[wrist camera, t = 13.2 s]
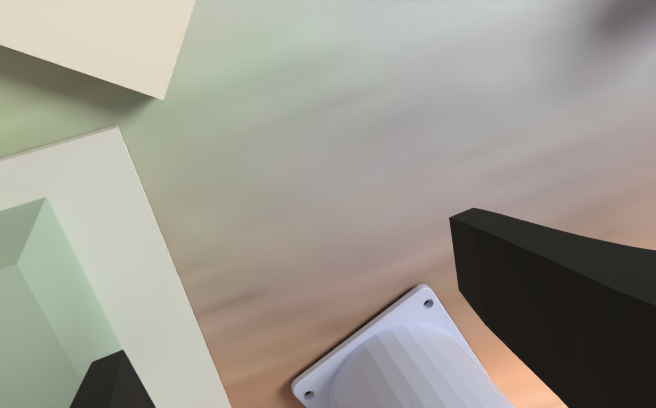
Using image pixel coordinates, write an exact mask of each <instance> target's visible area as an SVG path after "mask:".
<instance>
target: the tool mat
mask: <svg viewBox="0 0 656 408" xmlns="http://www.w3.org/2000/svg"><path fill="white" fill-rule="evenodd" d="M44 197H47V199H48V201H49V203H50V205H51V207H52V209H53V211H54V213H55V215H56V217H57V219H58V221H59V223H60V225H61V227H62V229H63V231H64V233H65V235H66V237H67V239H68V241H69V243H70V245H71V247H72V249H73V251H74V253H75V255H76V257H77V259H78V261H79V263H80V265H81V267H82V269H83V271H84V273H85V275H86V277H87V279H88V281H89V284H90V286H91V288H92V290H93V292H94V294H95V296H96V298H97V300H98V302H99V304H100V306H101V308H102V310H103V312H104V314H105V316H106V318H107V320H108V322H109V324H110V326H111V328H112V330H113V332H114V334H115V336H116V338H117V340H118V342H119V344H120V346H121V348H122V350H123V349H124V351H125V353H126V355H127V357H128V358H129V360H130V362H131V364H132V366H133V367H134V369H135V371H136V373H137V375H138V376H139V378H140V380H141V382H142V384H143V385H144V387H145V389H146V391H147V392H148V394H149V396H150V398H151V400H152V401H153V403H154V405H155V407H156V408H232V407H231V405H230V402H229V400H228V397H227V395H226V392H225V390H224V387H223V385H222V383H221V380H220V378H219V375H218V373H217V370H216V368H215V365H214V363H213V360H212V358H211V355H210V353H209V350H208V348H207V345H206V343H205V340H204V338H203V335H202V333H201V330H200V328H199V325H198V323H197V321H196V318H195V316H194V313H193V311H192V308H191V306H190V303H189V301H188V298H187V296H186V293H185V291H184V288H183V286H182V283H181V281H180V278H179V276H178V273H177V271H176V268H175V266H174V263H173V261H172V259H171V256H170V254H169V251H168V249H167V246H166V244H165V241H164V239H163V236H162V234H161V231H160V229H159V226H158V224H157V221H156V219H155V216H154V214H153V211H152V209H151V206H150V204H149V201H148V199H147V197H146V194H145V192H144V189H143V187H142V184H141V182H140V179H139V177H138V174H137V172H136V169H135V167H134V164H133V162H132V159H131V157H130V154H129V152H128V149H127V147H126V144H125V142H124V139H123V137H122V135H121V132H120V130H119V127H118V125H113V126H110V127H106V128H103V129H100V130H96V131H93V132H89V133H86V134H82V135H79V136H75V137H72V138H68V139H65V140H61V141H58V142H54V143H51V144H48V145H44V146H41V147H37V148H34V149H30V150H27V151H23V152H20V153H16V154H13V155H9V156H6V157H2V158H0V211H1V210H5V209H8V208H11V207H14V206H18V205H21V204H24V203H27V202H31V201H34V200H37V199H40V198H44Z"/></svg>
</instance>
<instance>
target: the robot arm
mask: <svg viewBox="0 0 656 408" xmlns="http://www.w3.org/2000/svg"><path fill="white" fill-rule="evenodd" d="M449 220H450V227H451V235H452V242H453V250H454V257H455V265H456V272H457V280H458V287H459V291H460V292H461V294H462V295H463V296H464V298H465V299H466V300H467V302H468V303H469V304H470V306H471V307H472V308H473V310H474V311H475V312H476V313H477V315H478V316H479V317H480V318H481V320H482V321H483V322H484V323H485V325H486V326H487V327H488V328H489V329H490V330H491V331H492V332H493V333H494V334H495V335H496V336H497V337H498V338H499V339H500V340H501V341H502V342H503V343H504V344H505V345H506V346H507V347H508V348H509V349H510V350H511V351H512V352H513V353H514V354H515V355H516V356H517V357H518V358H519V359H520V360H521V361H522V362H523V363H524V364H525V365H527V366H528V367H529V368H530V369H531V370H532V371H533V372H534V373H535V374H536V375H537V376H538V377H539V378H540V379H541V380H542V381H543V382H544V383H545V384H546V385H547V386H548V387H549V388H550V389H551V390H552V391H553V392H554V393H555V394H556V395H557V396H558V397H559V398H560V399H561V400H562V401H563V402H564V403H565V404H566V405H567V407H568V408H656V250H649V249H642V248H637V247H631V246H626V245H621V244H616V243H611V242H607V241H602V240H597V239H593V238H588V237H584V236H580V235H576V234H572V233H568V232H564V231H560V230H556V229H552V228H549V227H545V226H541V225H538V224H534V223H530V222H527V221H523V220H520V219H516V218H513V217H509V216H505V215H502V214H498V213H494V212H490V211H486V210H482V209H477V208H472V209H469V210H467V211H464V212H462V213H459V214H457V215H454V216H452V217H449ZM428 299H429V302H428V303H427V304H425V305H424V302H425V301H426V300H428ZM291 389H292V392H293V394H294V396H295V397H296V398H297V399H298V400H299V401H300V402H301V403H302V404H303V405H304V406H305V407H306V408H515V406H514V405H513V404H512V403H511V402H510V401H509V400H508V399H507V397H506V396H505V395H504V394H503V393H502V392H501V391H500V390H499V388H498V387H497V386H496V385H495V384H494V383H493V382H492V380H491V379H490V377H489V376H488V374H487V373H486V371H485V370H484V368H483V367H482V365H481V364H480V362H479V361H478V359H477V358H476V356H475V355H474V353H473V352H472V350H471V349H470V347H469V345H468V344H467V342H466V341H465V339H464V338H463V336H462V335H461V333H460V332H459V330H458V329H457V327H456V326H455V324H454V323H453V321H452V320H451V318H450V317H449V315H448V314H447V312H446V311H445V309H444V308H443V306H442V305H441V303H440V302H439V300H438V299H437V297H436V296H435V294H434V293H433V291H432V290H431V289H430V288H429V287H428V286H427V285H424V284H422V285H418V286H417V287H415V288H414V289H412V290H411V291H410V292H408V293H407V294H406V295H405V296H403V297H402V298H401V299H399V300H398V301H397V302H395V303H394V304H393V305H391V306H390V307H389V308H388V309H386V310H385V311H384V312H382V313H381V314H380V315H378V316H377V317H376V318H374V319H373V320H372V321H370V322H369V323H368V324H367V325H365V326H364V327H363V328H361V329H360V330H359V331H357V332H356V333H355V334H353V335H352V336H351V337H349V338H348V339H347V340H346V341H344V342H343V343H342V344H340V345H339V346H338V347H336V348H335V349H334V350H332V351H331V352H330V353H328V354H327V355H326V356H325V357H323V358H322V359H321V360H319V361H318V362H317V363H315V364H314V365H313V366H311V367H310V368H309V369H307V370H306V371H305V372H304V373H302V374H301V375H300V376H298V377H297V378H296V379H295V380H294V381H293V382H292V384H291ZM308 391H311V392H310V393H309V394H305V393H306V392H308ZM69 408H156V407H155V405H154V403H153V401H152V400H151V398H150V396H149V394H148V392H147V391H146V389H145V387H144V385H143V384H142V382H141V380H140V378H139V376H138V375H137V373H136V371H135V369H134V367H133V366H132V364H131V362H130V360H129V358H128V357H127V355H126V353H125V351H124V349H123V350H120V351H118V352H115V353H113V354H110V355H108V356H106V357H103V358H101V359H98V360H96V361H93V362H92V363H91V365H90V367H89V369H88V371H87V373H86V375H85V376H84V378H83V380H82V383H81V385H80V387H79V389H78V391H77V393H76V395H75V397H74V399H73V401H72V403H71V405H70V407H69Z"/></svg>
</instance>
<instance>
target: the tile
mask: <svg viewBox="0 0 656 408" xmlns="http://www.w3.org/2000/svg"><path fill="white" fill-rule="evenodd" d="M195 1H196V0H0V45H2V46H5V47H8V48H11V49H14V50H17V51H20V52H23V53H26V54H29V55H32V56H35V57H38V58H40V59H43V60H46V61H49V62H52V63H55V64H58V65H61V66H64V67H67V68H70V69H73V70H76V71H79V72H82V73H85V74H88V75H91V76H94V77H97V78H100V79H102V80H105V81H108V82H111V83H114V84H117V85H120V86H123V87H126V88H129V89H132V90H135V91H138V92H141V93H144V94H147V95H150V96H153V97H156V98H159V99H161V100H164V97H165V94H166V91H167V88H168V85H169V82H170V79H171V76H172V72H173V69H174V66H175V63H176V60H177V57H178V54H179V51H180V48H181V45H182V42H183V39H184V35H185V32H186V29H187V26H188V23H189V20H190V17H191V14H192V11H193V8H194V5H195Z"/></svg>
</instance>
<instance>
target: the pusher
mask: <svg viewBox="0 0 656 408" xmlns="http://www.w3.org/2000/svg"><path fill="white" fill-rule="evenodd" d="M120 350H122V348H121V346H120V344H119V342H118V340H117V338H116V336H115V334H114V332H113V330H112V328H111V326H110V324H109V322H108V320H107V318H106V316H105V314H104V312H103V310H102V308H101V306H100V304H99V302H98V300H97V298H96V296H95V294H94V292H93V290H92V288H91V286H90V284H89V281H88V279H87V277H86V275H85V273H84V271H83V269H82V267H81V265H80V263H79V261H78V259H77V257H76V255H75V253H74V251H73V249H72V247H71V245H70V243H69V241H68V239H67V237H66V235H65V233H64V231H63V229H62V227H61V225H60V223H59V221H58V219H57V217H56V215H55V213H54V211H53V209H52V207H51V205H50V203H49V201H48V199H47V197H44V198H40V199H37V200H34V201H31V202H27V203H24V204H21V205H18V206H14V207H11V208H8V209H5V210H1V211H0V408H69V407H70V405H71V403H72V401H73V399H74V397H75V395H76V393H77V391H78V389H79V387H80V385H81V383H82V380H83V378H84V376H85V375H86V373H87V371H88V369H89V367H90V365H91V363H92V362H93V361H96V360H98V359H101V358H103V357H106V356H108V355H110V354H113V353H115V352H118V351H120Z"/></svg>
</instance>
